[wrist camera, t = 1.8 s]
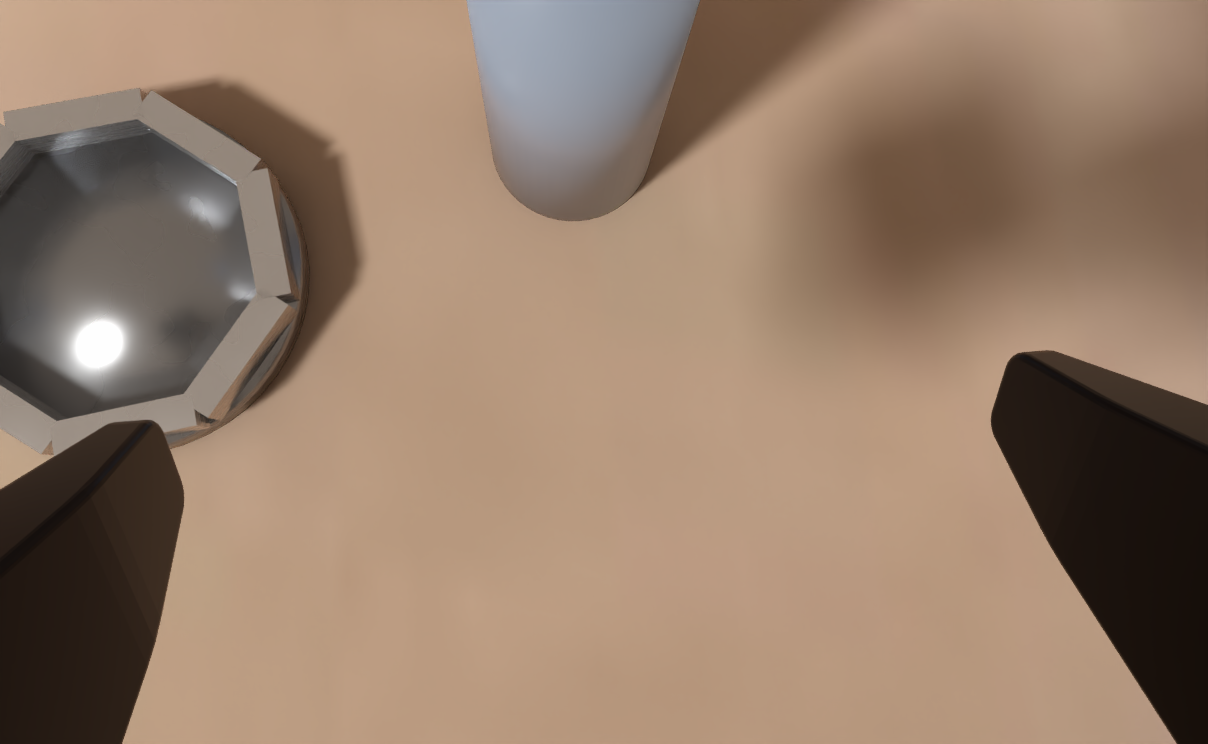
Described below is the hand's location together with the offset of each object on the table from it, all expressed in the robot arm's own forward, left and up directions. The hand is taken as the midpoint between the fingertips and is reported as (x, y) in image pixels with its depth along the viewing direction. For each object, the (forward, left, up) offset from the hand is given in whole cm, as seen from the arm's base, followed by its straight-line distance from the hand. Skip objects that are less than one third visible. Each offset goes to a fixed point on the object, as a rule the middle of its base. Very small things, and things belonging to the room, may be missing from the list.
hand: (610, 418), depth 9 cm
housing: (+12, +2, -13) cm, 18 cm away
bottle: (+5, -7, -13) cm, 15 cm away
